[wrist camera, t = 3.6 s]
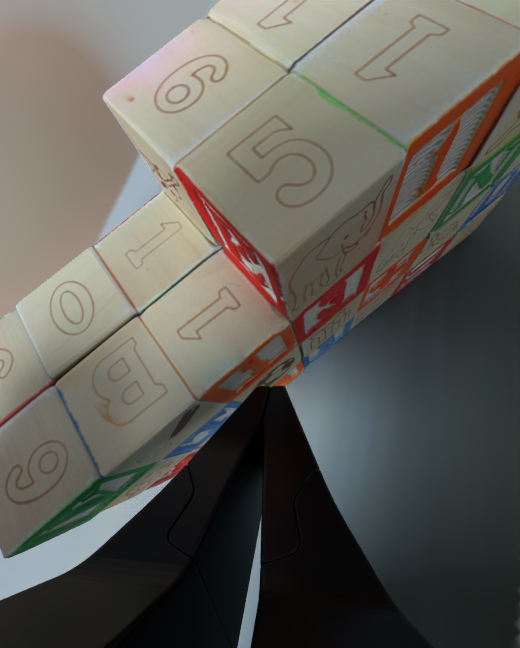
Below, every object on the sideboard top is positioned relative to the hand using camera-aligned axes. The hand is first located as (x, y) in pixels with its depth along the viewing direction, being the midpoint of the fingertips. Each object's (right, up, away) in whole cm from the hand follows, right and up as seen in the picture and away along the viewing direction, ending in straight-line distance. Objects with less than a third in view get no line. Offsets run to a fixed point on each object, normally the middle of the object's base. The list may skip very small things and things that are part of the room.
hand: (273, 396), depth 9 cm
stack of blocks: (+1, +3, +8) cm, 9 cm away
